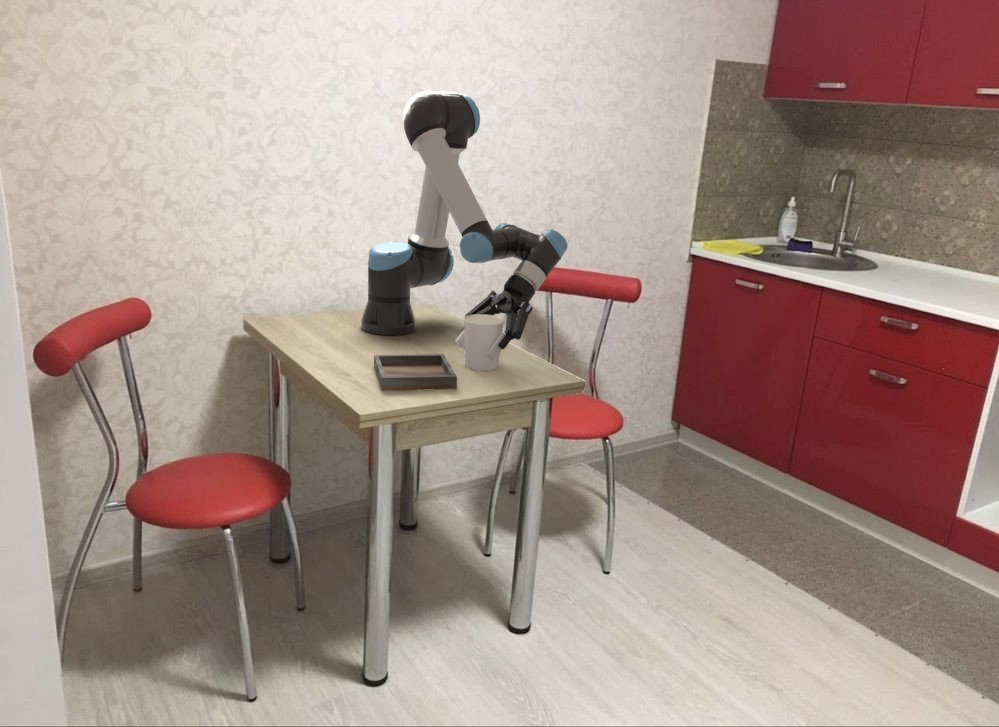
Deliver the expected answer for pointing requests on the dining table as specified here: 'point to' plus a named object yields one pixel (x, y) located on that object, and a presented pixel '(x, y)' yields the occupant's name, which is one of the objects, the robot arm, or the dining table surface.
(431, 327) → the dining table surface
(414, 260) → the robot arm
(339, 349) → the dining table surface
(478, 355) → the candle holder
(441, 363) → the socket base
